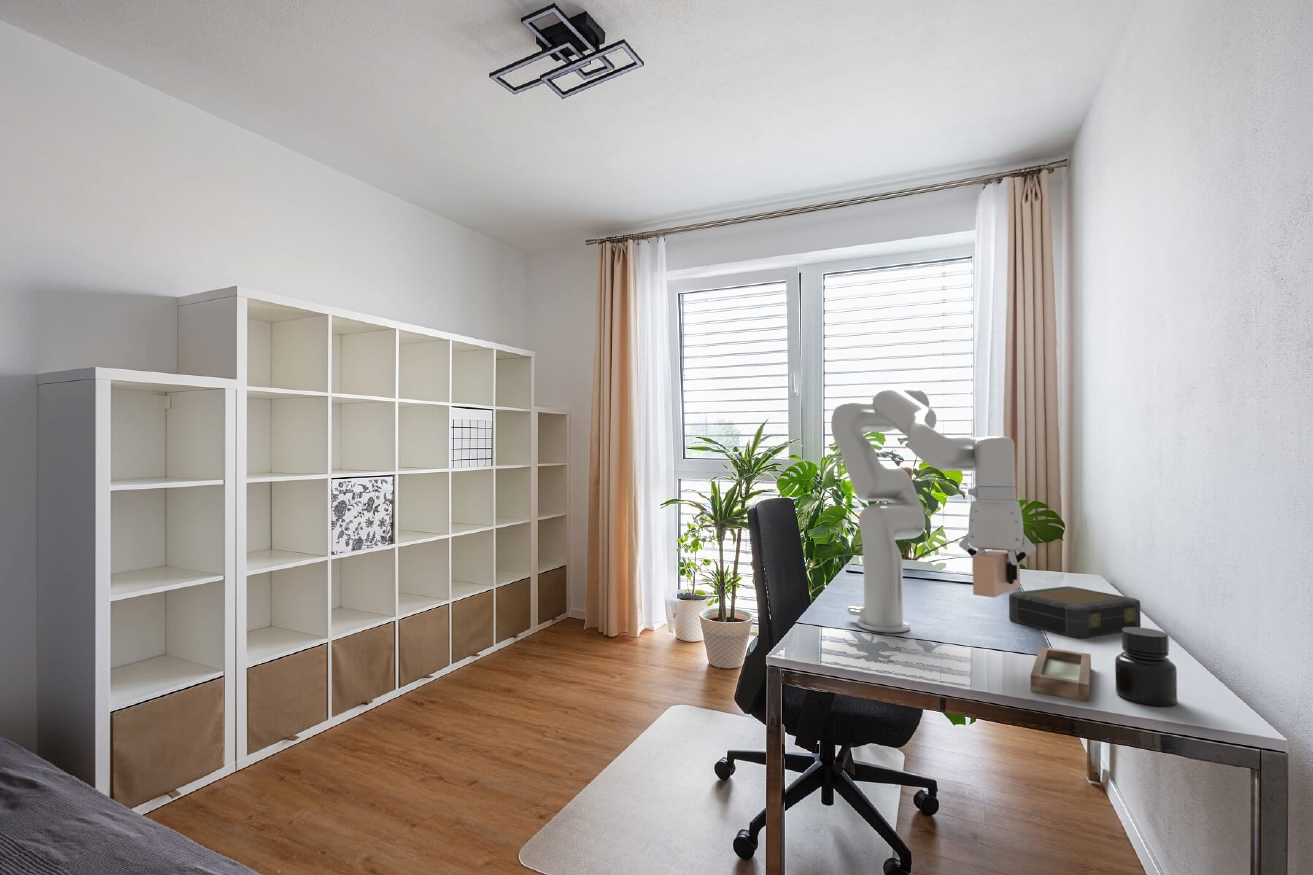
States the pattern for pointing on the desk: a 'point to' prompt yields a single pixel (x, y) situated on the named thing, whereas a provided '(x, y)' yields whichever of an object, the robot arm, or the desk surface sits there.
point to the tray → (1062, 673)
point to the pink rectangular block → (993, 573)
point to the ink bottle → (1146, 668)
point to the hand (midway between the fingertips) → (997, 580)
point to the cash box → (1074, 611)
